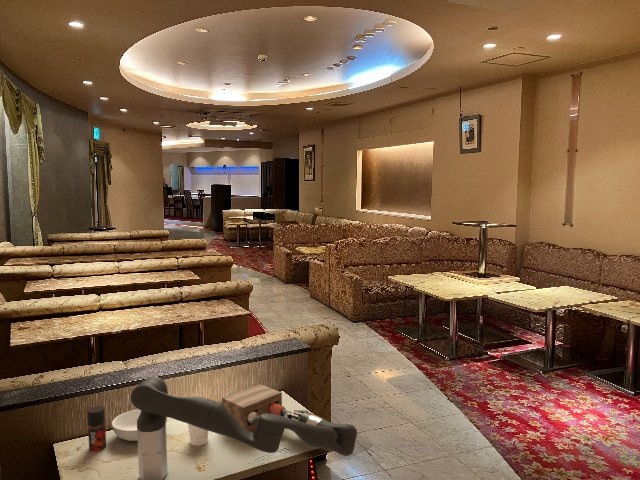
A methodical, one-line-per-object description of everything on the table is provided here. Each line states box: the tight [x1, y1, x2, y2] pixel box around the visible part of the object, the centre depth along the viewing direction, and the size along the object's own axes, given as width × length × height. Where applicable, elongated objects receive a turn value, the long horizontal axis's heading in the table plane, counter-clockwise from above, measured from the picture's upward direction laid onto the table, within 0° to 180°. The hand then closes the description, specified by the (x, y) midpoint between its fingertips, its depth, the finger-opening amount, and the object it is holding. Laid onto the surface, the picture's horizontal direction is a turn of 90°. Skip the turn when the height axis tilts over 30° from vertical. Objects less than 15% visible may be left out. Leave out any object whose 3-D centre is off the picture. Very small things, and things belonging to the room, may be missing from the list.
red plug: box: [269, 402, 287, 417], centre depth 201 cm, size 10×4×4 cm, turn 47°
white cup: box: [187, 423, 209, 447], centre depth 189 cm, size 8×8×10 cm
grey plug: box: [247, 411, 259, 424], centre depth 196 cm, size 10×4×4 cm, turn 47°
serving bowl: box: [111, 408, 168, 442], centre depth 195 cm, size 21×21×7 cm
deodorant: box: [86, 405, 107, 453], centre depth 185 cm, size 6×6×15 cm
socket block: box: [221, 383, 283, 433], centre depth 202 cm, size 14×20×13 cm
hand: (281, 412), depth 197 cm, fingers closed
